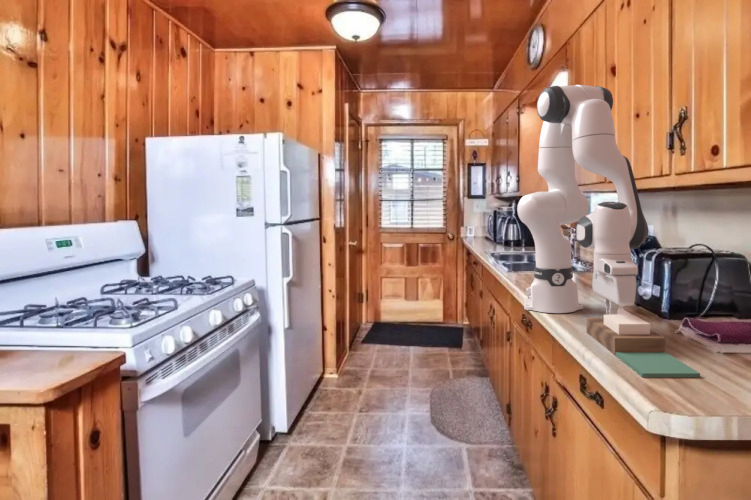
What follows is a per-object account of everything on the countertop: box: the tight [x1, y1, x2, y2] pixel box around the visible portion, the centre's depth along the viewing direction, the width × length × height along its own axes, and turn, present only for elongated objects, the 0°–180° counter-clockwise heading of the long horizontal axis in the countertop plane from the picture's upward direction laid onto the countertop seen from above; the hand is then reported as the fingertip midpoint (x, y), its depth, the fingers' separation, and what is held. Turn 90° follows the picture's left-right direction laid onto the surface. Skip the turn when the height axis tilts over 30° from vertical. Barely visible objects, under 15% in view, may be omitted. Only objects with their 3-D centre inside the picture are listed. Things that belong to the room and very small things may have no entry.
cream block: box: [603, 313, 651, 335], centre depth 119 cm, size 10×7×2 cm
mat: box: [615, 351, 701, 378], centre depth 104 cm, size 14×11×1 cm
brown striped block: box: [586, 317, 666, 356], centre depth 121 cm, size 20×11×4 cm, turn 174°
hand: (611, 315), depth 128 cm, fingers closed
